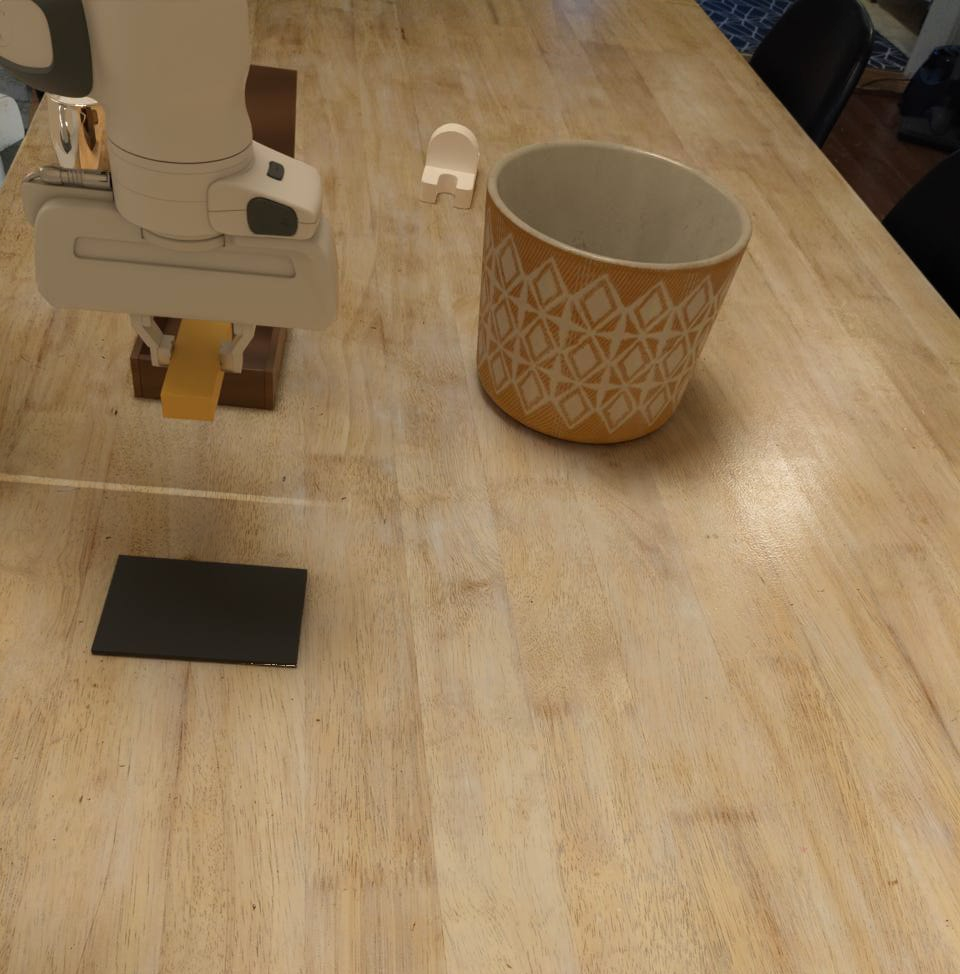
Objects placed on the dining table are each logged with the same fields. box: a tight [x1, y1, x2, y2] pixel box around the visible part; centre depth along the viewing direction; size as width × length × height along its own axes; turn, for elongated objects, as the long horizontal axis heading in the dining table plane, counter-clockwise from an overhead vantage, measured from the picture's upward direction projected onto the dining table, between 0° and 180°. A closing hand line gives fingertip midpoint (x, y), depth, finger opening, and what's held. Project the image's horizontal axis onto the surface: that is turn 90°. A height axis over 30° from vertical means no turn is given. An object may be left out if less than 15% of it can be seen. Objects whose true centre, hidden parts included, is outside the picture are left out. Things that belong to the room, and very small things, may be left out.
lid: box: [245, 63, 298, 159], centre depth 110 cm, size 20×14×1 cm
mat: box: [90, 554, 308, 667], centre depth 88 cm, size 16×11×1 cm
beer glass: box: [45, 92, 111, 171], centre depth 123 cm, size 7×7×15 cm
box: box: [129, 316, 288, 411], centre depth 111 cm, size 19×14×5 cm
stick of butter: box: [160, 319, 232, 423], centre depth 78 cm, size 11×4×2 cm, turn 2°
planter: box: [476, 138, 754, 445], centre depth 110 cm, size 26×26×22 cm
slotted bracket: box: [419, 123, 481, 210], centre depth 145 cm, size 13×7×8 cm, turn 175°
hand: (198, 365), depth 78 cm, fingers closed on stick of butter, 3 cm apart
